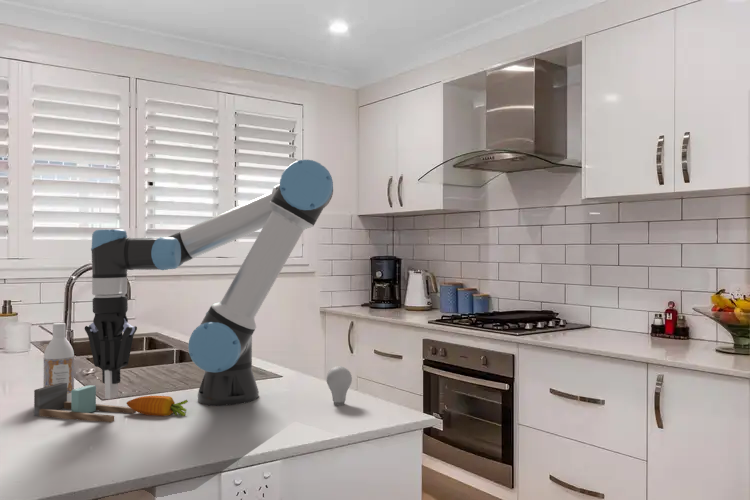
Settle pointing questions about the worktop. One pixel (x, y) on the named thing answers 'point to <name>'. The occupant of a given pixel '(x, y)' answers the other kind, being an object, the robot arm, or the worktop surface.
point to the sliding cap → (84, 399)
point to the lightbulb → (339, 384)
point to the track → (68, 405)
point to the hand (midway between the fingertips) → (111, 397)
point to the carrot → (157, 406)
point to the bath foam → (59, 360)
